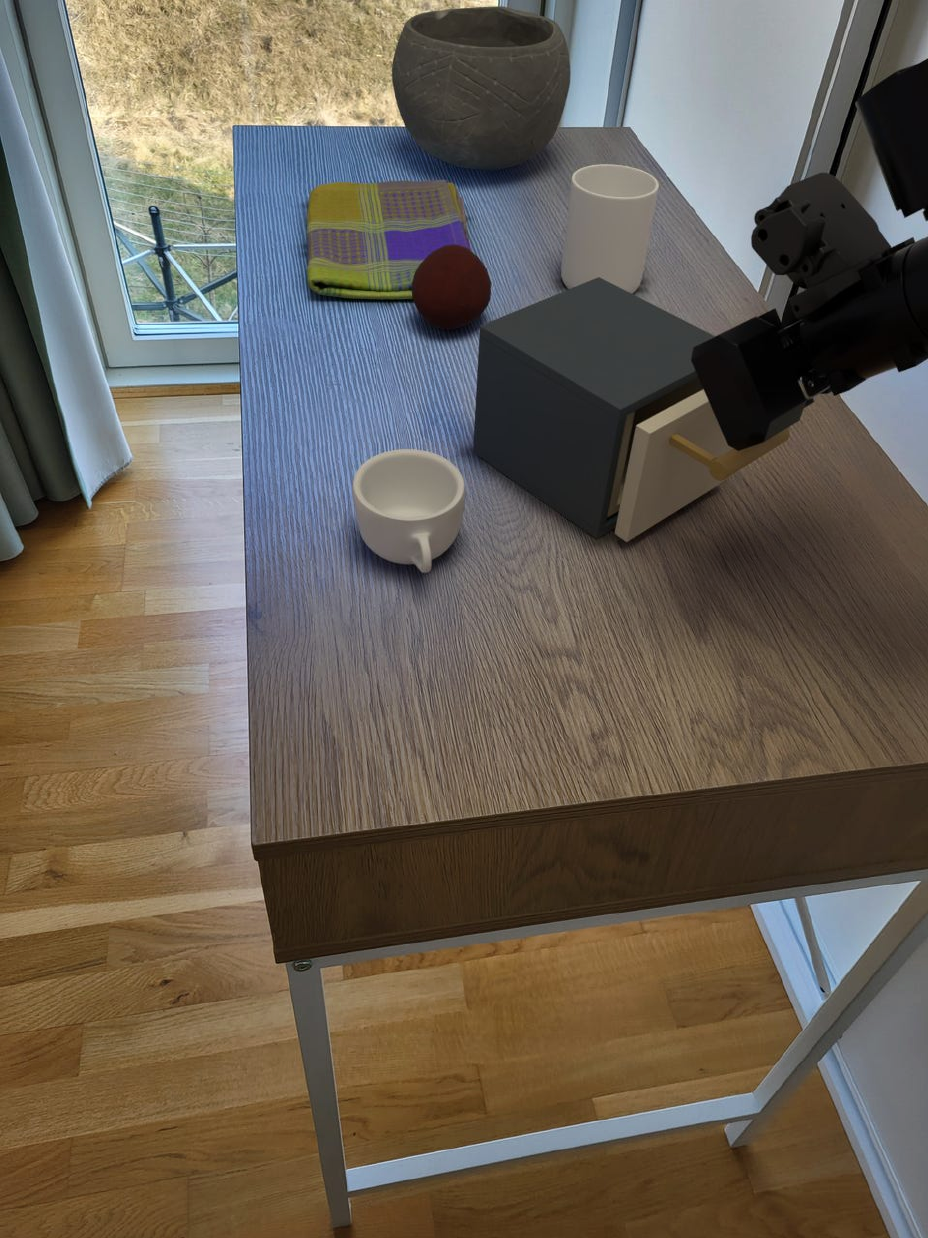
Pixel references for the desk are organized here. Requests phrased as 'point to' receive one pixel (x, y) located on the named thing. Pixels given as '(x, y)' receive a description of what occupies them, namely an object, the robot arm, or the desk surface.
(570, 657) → the desk surface
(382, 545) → the teacup
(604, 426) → the cabinet
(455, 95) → the bowl
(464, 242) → the dish towel
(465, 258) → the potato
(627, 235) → the cup
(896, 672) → the desk surface
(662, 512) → the drawer
